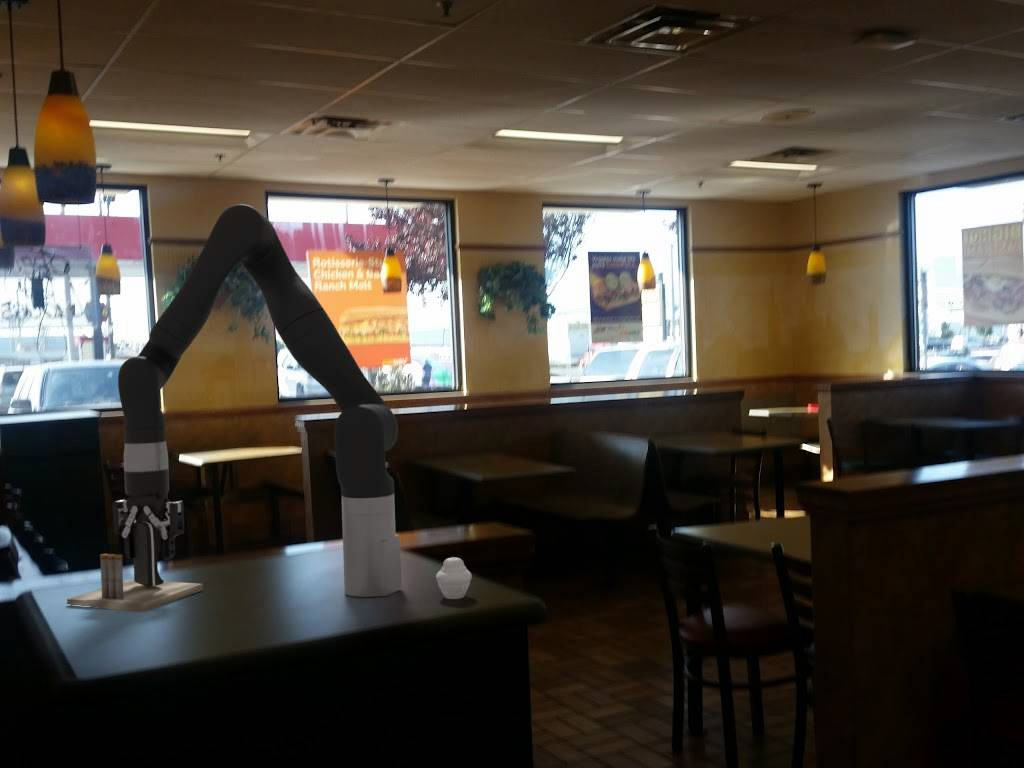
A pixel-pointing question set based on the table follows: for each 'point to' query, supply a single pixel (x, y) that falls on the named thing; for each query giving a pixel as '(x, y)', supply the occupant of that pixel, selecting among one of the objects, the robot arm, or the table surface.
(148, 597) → the board
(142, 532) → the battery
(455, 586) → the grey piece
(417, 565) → the table surface
